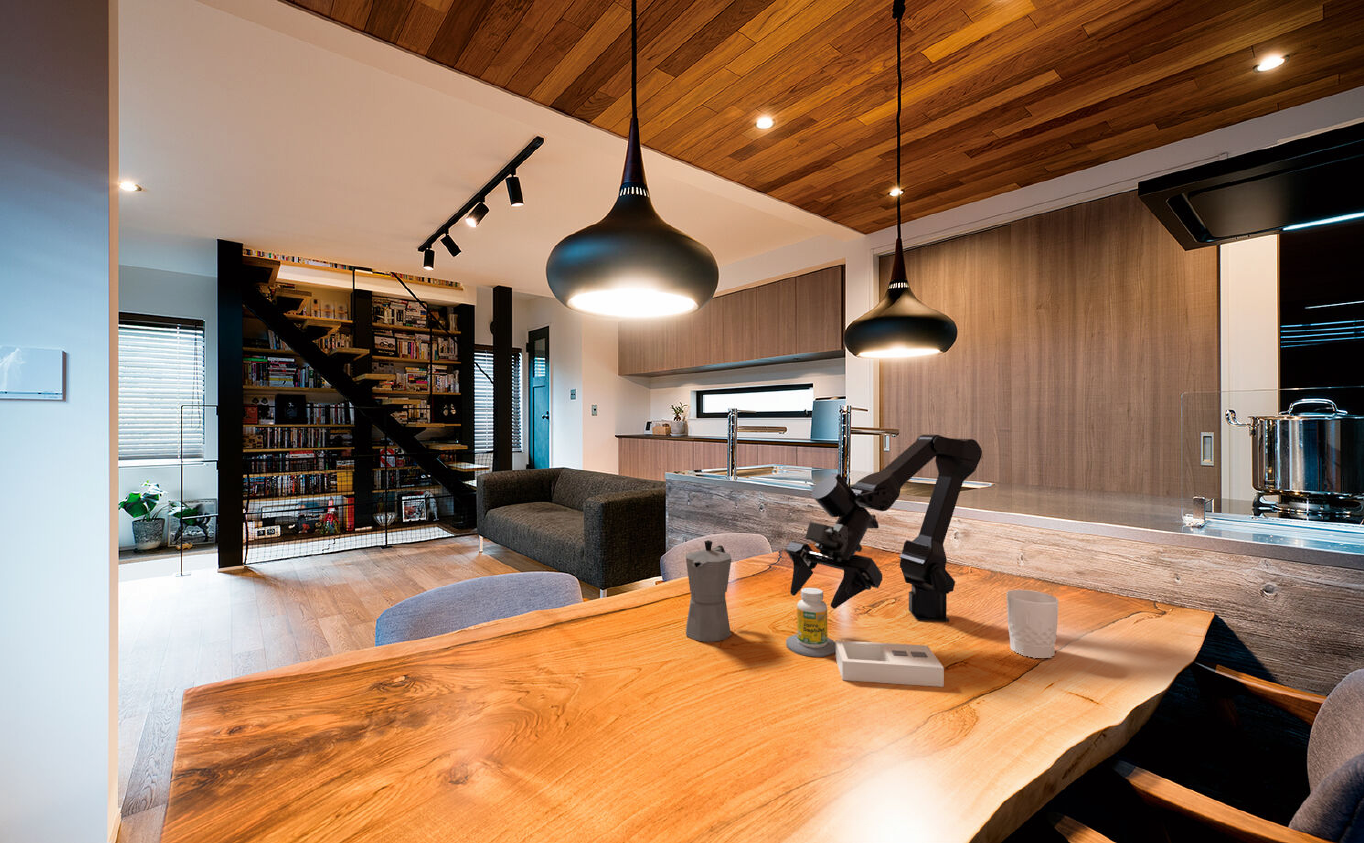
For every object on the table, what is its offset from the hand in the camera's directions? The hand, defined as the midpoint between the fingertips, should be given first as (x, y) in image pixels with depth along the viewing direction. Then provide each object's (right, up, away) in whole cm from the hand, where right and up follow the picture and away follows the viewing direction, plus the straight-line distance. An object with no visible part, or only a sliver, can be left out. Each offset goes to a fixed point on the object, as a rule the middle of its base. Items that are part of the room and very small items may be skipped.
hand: (811, 600), depth 101 cm
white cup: (+39, -9, -2) cm, 40 cm away
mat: (0, -8, 0) cm, 8 cm away
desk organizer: (+10, -8, -10) cm, 16 cm away
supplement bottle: (0, -8, 0) cm, 8 cm away
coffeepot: (-18, -9, +7) cm, 21 cm away
